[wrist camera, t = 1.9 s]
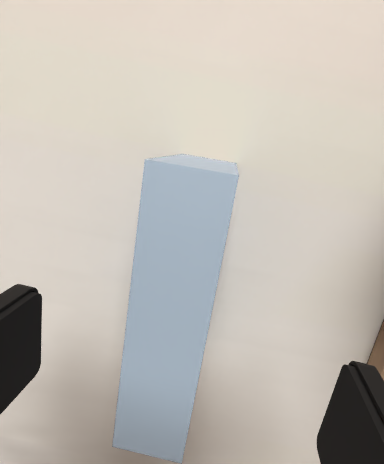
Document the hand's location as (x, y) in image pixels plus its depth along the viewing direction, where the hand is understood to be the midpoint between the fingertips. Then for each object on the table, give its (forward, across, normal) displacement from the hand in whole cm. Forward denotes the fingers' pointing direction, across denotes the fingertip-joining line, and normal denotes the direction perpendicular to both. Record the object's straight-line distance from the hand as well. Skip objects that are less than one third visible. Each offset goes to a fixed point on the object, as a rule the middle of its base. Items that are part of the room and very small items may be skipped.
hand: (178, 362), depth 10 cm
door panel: (+10, +1, 0) cm, 10 cm away
